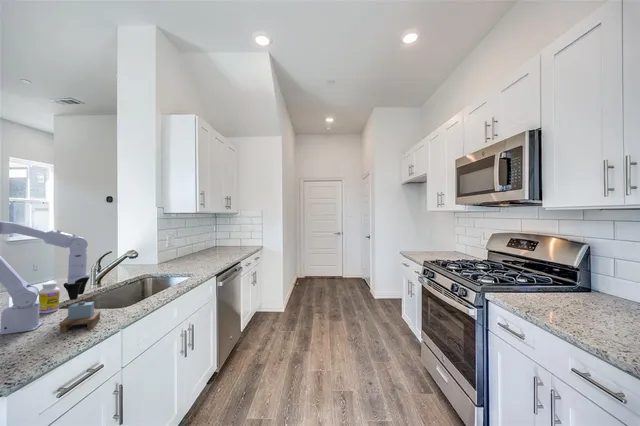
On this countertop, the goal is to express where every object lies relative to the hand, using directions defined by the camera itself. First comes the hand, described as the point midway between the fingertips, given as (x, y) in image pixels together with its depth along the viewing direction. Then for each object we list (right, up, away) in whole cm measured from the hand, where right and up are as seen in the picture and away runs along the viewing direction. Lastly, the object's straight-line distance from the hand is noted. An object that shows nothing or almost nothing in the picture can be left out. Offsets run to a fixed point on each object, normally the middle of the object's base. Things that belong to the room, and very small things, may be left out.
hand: (76, 296), depth 113 cm
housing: (+8, -6, -6) cm, 11 cm away
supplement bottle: (-20, -9, +8) cm, 23 cm away
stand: (+7, -10, -6) cm, 14 cm away
